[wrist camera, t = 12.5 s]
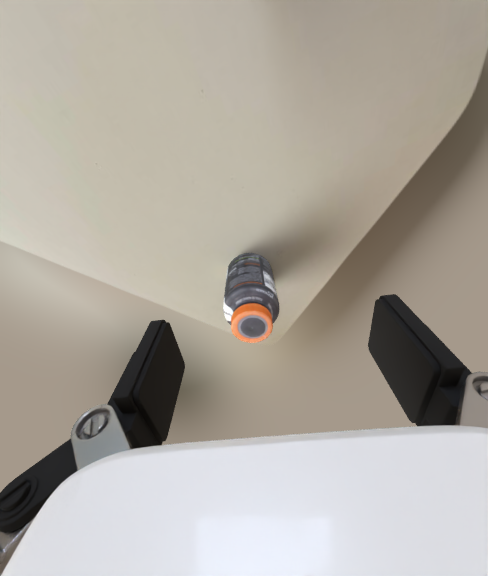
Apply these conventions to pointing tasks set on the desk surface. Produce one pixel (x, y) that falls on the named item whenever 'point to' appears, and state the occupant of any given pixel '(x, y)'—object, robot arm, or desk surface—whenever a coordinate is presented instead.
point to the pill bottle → (250, 298)
